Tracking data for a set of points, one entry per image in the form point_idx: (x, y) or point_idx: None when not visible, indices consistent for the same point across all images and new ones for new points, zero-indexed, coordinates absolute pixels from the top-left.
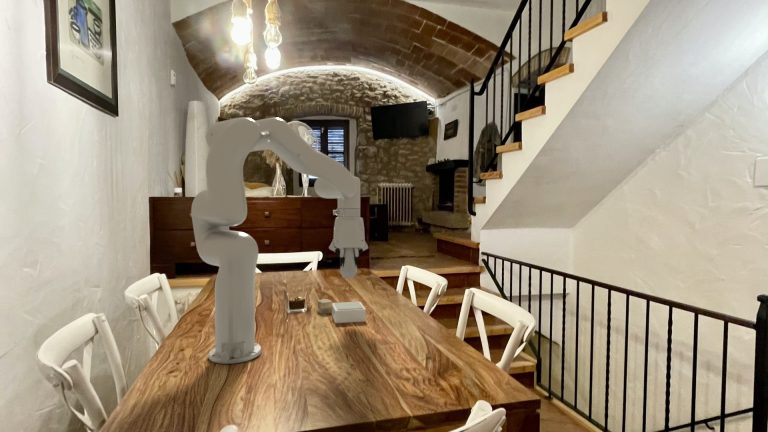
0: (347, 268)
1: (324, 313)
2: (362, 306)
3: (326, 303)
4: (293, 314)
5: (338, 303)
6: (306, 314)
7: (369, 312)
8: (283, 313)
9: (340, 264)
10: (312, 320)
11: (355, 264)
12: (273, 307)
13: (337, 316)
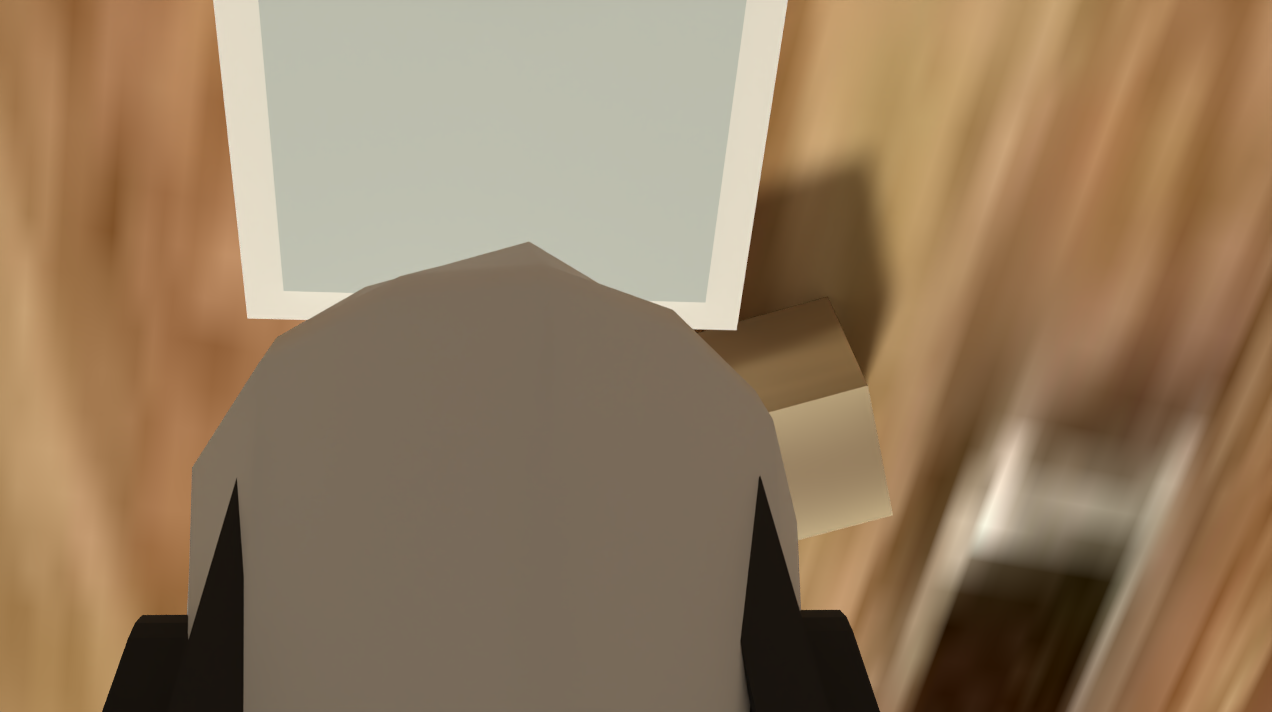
0: (609, 392)
1: (793, 309)
2: (240, 2)
3: (793, 393)
4: (1171, 355)
5: (650, 254)
6: (1024, 322)
7: (130, 224)
8: (1260, 415)
9: (852, 659)
10: (1044, 37)
11: (226, 575)
12: (1264, 635)
13: None
